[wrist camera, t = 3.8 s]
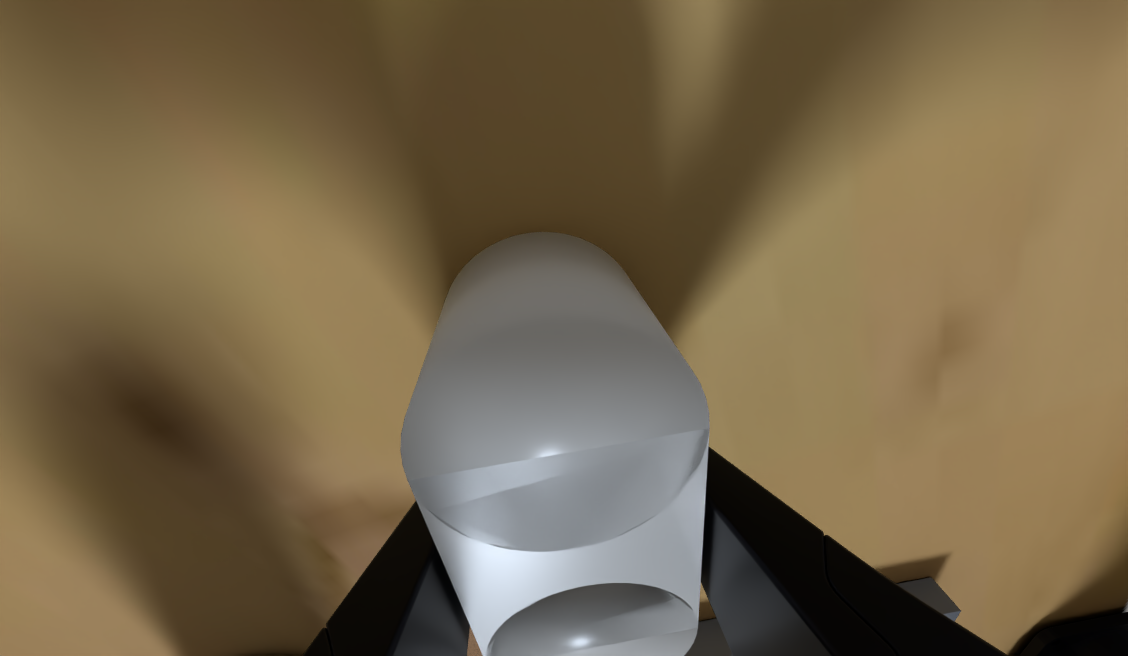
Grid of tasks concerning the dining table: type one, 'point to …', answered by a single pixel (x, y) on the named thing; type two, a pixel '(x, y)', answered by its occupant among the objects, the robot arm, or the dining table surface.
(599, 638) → the grey rounded piece
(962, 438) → the dining table surface
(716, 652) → the slate board
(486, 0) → the dining table surface
